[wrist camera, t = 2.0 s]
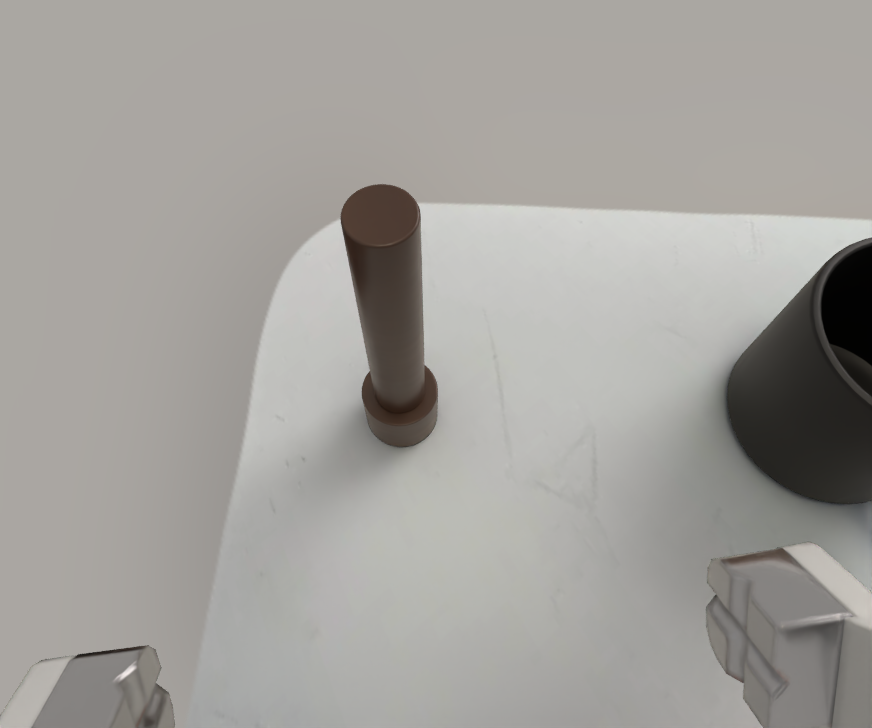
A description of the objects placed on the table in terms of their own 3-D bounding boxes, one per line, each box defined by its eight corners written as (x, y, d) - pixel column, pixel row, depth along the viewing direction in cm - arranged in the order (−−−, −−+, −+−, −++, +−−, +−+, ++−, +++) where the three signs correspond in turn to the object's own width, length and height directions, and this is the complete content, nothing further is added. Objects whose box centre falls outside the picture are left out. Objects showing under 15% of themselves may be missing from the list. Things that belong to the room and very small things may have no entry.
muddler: (378, 456, 34) (337, 277, 19) (359, 393, 35) (307, 184, 21) (446, 435, 34) (456, 245, 20) (425, 374, 36) (419, 156, 21)
